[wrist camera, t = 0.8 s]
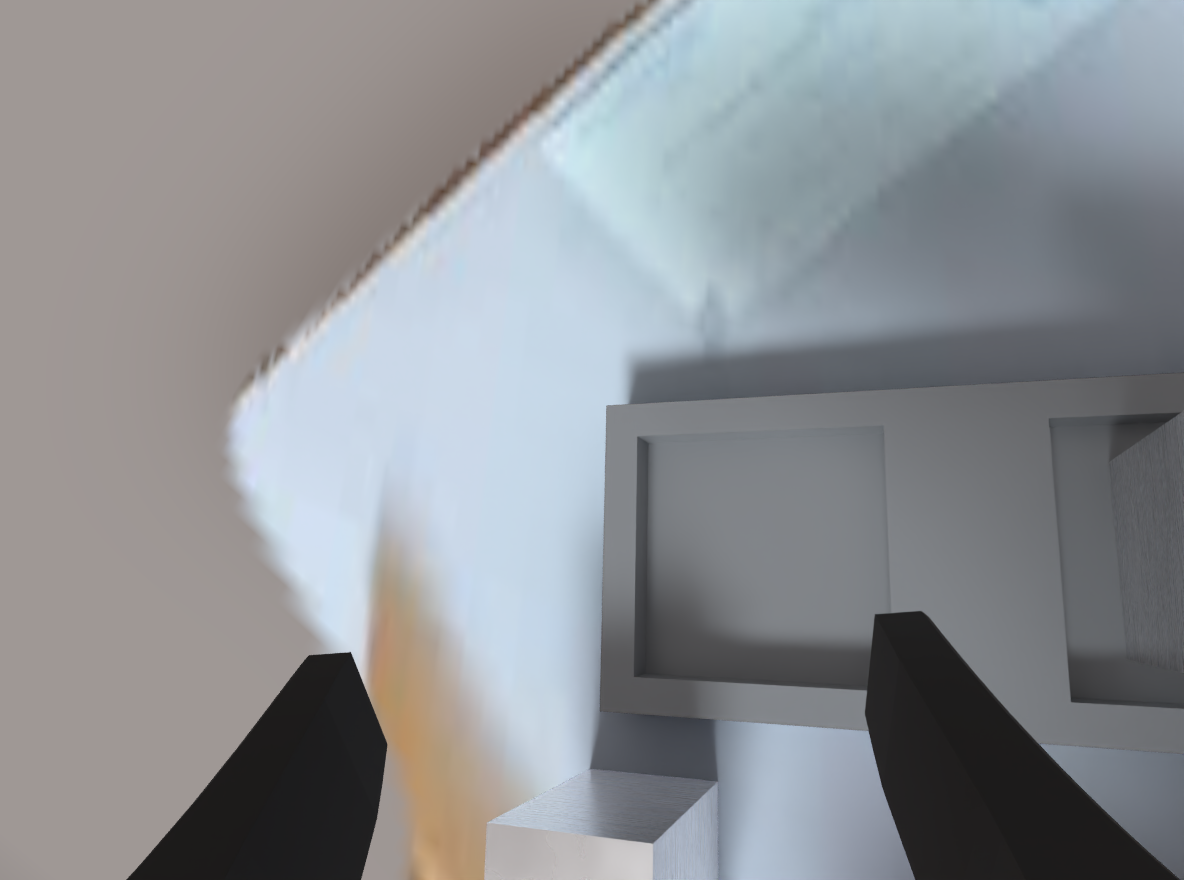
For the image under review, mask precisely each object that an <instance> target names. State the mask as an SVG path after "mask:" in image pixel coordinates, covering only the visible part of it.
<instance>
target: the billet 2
mask: <svg viewBox="0 0 1184 880" xmlns="http://www.w3.org/2000/svg"><path fill="white" fill-rule="evenodd" d="M1109 471H1110V482H1111V493H1112V504H1113V515H1114V526H1115V537H1116V548H1117V559H1118V570H1119V581H1120V592H1121V603H1122V614H1123V625H1124V636H1125V647H1126V658H1127V660H1130V661H1135V662H1139V663H1143V664H1147V665H1151V666H1155V667H1160V668H1164V669H1168V670H1172V671H1176V672H1180V673H1184V411H1183V412H1181V413H1180V414H1178V415H1177V416H1175V417H1174V418H1172V419H1171V420H1170V421H1168V422H1167V423H1165V424H1164V425H1162V426H1161V427H1159V428H1158V429H1156V430H1155V431H1154V432H1152V433H1151V434H1149V435H1148V436H1146V437H1145V438H1143V439H1142V440H1140V441H1139V442H1138V443H1136V444H1135V445H1133V446H1132V447H1130V448H1129V449H1127V450H1126V451H1124V452H1123V453H1121V454H1120V455H1119V456H1117V457H1116V458H1114V459H1113V460H1111V461H1110V462H1109Z"/></svg>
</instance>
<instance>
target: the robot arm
mask: <svg viewBox="0 0 1184 880" xmlns="http://www.w3.org/2000/svg"><path fill="white" fill-rule="evenodd" d="M865 717H866V721H867V725H868V730H869V734H870V738H871V743H872V747H873V751H874V755H875V759H876V763H877V767H878V771H879V775H880V779H881V783H882V787H883V790H884V793H885V796H886V799H887V802H888V805H889V808H890V810H891V813H892V816H893V819H894V821H895V824H896V827H897V830H898V833H899V835H900V838H901V841H902V844H903V847H904V849H905V852H906V855H907V858H908V860H909V863H910V866H911V869H912V871H913V874H914V877H915V880H1180V879H1179V878H1178V877H1177V876H1175V875H1174V874H1173V873H1172V872H1171V871H1170V870H1169V869H1167V868H1166V867H1165V866H1164V865H1163V864H1162V863H1161V862H1159V861H1158V860H1157V859H1156V858H1155V857H1154V856H1153V855H1151V854H1150V853H1149V852H1148V851H1147V850H1146V849H1145V848H1144V847H1143V846H1142V845H1141V844H1139V843H1138V842H1137V841H1136V840H1135V839H1134V838H1133V837H1132V836H1131V835H1130V834H1129V833H1128V832H1126V831H1125V830H1124V829H1123V828H1122V827H1121V826H1120V825H1119V824H1118V823H1117V822H1116V821H1115V820H1114V819H1113V818H1112V817H1111V816H1109V815H1108V814H1107V813H1106V812H1105V811H1104V810H1103V809H1102V808H1101V807H1100V806H1099V805H1098V804H1097V803H1096V802H1095V801H1094V800H1093V799H1092V798H1091V797H1090V796H1089V795H1088V794H1087V793H1086V792H1085V791H1084V790H1083V789H1082V788H1081V787H1080V786H1079V785H1078V784H1077V783H1076V782H1075V781H1074V780H1073V779H1072V778H1071V777H1070V776H1069V775H1068V774H1067V773H1066V772H1065V771H1064V770H1063V769H1062V768H1061V767H1060V766H1059V765H1058V764H1057V763H1056V762H1055V761H1054V760H1053V759H1052V758H1051V757H1050V756H1049V754H1048V753H1047V752H1046V751H1045V750H1044V749H1043V748H1042V747H1041V746H1040V745H1039V744H1038V743H1037V742H1036V741H1035V739H1034V738H1033V737H1032V736H1031V735H1030V734H1029V733H1028V732H1027V731H1026V730H1025V729H1024V728H1023V727H1022V726H1021V724H1020V723H1019V722H1018V721H1017V720H1016V719H1015V718H1014V717H1013V716H1012V715H1011V714H1010V713H1009V711H1008V710H1007V709H1006V708H1005V707H1004V706H1003V705H1002V704H1001V702H1000V701H999V700H998V699H997V698H996V697H995V696H994V695H993V693H992V692H991V691H990V690H989V689H988V688H987V686H986V685H985V684H984V683H983V682H982V681H981V679H980V678H979V677H978V676H977V675H976V674H975V673H974V671H973V670H972V669H971V668H970V667H969V665H968V664H967V663H966V662H965V661H964V659H963V658H962V657H961V656H960V655H959V653H958V652H957V651H956V650H955V649H954V647H953V646H952V645H951V644H950V642H949V641H948V640H947V639H946V638H945V636H944V635H943V634H942V633H941V631H940V630H939V629H938V628H937V626H936V625H935V624H934V623H933V621H932V620H931V619H930V618H929V616H927V615H926V614H925V613H924V612H922V611H913V612H899V613H885V614H875V617H874V627H873V637H872V647H871V657H870V667H869V676H868V686H867V696H866V706H865ZM386 752H387V742H386V739H385V737H384V734H383V732H382V729H381V727H380V724H379V722H378V719H377V717H376V714H375V712H374V709H373V707H372V704H371V702H370V699H369V697H368V694H367V692H366V689H365V687H364V684H363V682H362V679H361V677H360V674H359V672H358V669H357V667H356V664H355V662H354V659H353V657H352V654H351V652H349V653H335V654H321V655H309V656H308V657H307V658H306V659H305V660H304V662H303V663H302V664H301V665H300V667H299V668H298V669H297V671H296V672H295V673H294V674H293V676H292V677H291V678H290V680H289V681H288V682H287V684H286V685H285V686H284V688H283V689H282V690H281V691H280V693H279V694H278V695H277V697H276V698H275V699H274V701H273V702H272V703H271V705H270V706H269V707H268V709H267V710H266V711H265V713H264V714H263V715H262V717H261V718H260V719H259V721H258V722H257V723H256V724H255V726H254V727H253V728H252V730H251V731H250V732H249V733H248V735H247V736H246V738H245V739H244V740H243V741H242V743H241V744H240V745H239V747H238V748H237V749H236V750H235V752H234V753H233V754H232V755H231V757H230V758H229V759H228V760H227V762H226V763H225V764H224V765H223V767H222V768H221V769H220V770H219V772H218V773H217V774H216V775H215V777H214V778H213V779H212V780H211V782H210V783H209V784H208V785H207V787H206V788H205V789H204V791H203V792H202V793H201V794H200V795H199V797H198V798H197V799H196V800H195V802H194V803H193V804H192V805H191V806H190V808H189V809H188V810H187V811H186V812H185V813H184V814H183V816H182V817H181V818H180V819H179V820H178V821H177V823H176V824H175V825H174V826H173V827H172V828H171V830H170V831H169V832H168V833H167V834H166V835H165V837H164V838H163V839H162V840H161V841H160V842H159V844H158V845H157V846H156V847H155V848H154V849H153V850H152V852H151V853H150V854H149V855H148V856H147V857H146V859H145V860H144V861H143V862H142V863H141V864H140V865H139V866H138V868H137V869H136V870H135V871H134V872H133V873H132V874H131V875H130V876H129V878H128V879H127V880H361V878H362V873H363V870H364V866H365V862H366V859H367V855H368V851H369V847H370V843H371V839H372V836H373V832H374V828H375V824H376V820H377V814H378V808H379V802H380V795H381V789H382V782H383V775H384V767H385V759H386Z"/></svg>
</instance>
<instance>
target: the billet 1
mask: <svg viewBox="0 0 1184 880" xmlns="http://www.w3.org/2000/svg"><path fill="white" fill-rule="evenodd" d="M484 880H718V781H710V780H700V779H690V778H680V777H670V776H659V775H649V774H639V773H629V772H619V771H609V770H598V769H588V770H586V771H584V772H583V773H581V774H579V775H577V776H575V777H573V778H571V779H569V780H567V781H565V782H563V783H562V784H560V785H558V786H556V787H554V788H552V789H550V790H548V791H546V792H544V793H542V794H541V795H539V796H537V797H535V798H533V799H531V800H529V801H527V802H525V803H523V804H522V805H520V806H518V807H516V808H514V809H512V810H510V811H508V812H506V813H504V814H502V815H501V816H499V817H497V818H495V819H493V820H491V821H489V822H487V833H486V855H485V878H484Z"/></svg>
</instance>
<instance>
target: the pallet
mask: <svg viewBox="0 0 1184 880" xmlns="http://www.w3.org/2000/svg"><path fill="white" fill-rule="evenodd" d="M1183 411H1184V372H1183V373H1166V374H1148V375H1131V376H1113V377H1096V378H1079V379H1061V380H1044V381H1026V382H1009V383H991V384H974V385H956V386H939V387H922V388H904V389H887V390H869V391H852V392H834V393H817V394H799V395H782V396H765V397H747V398H730V399H712V400H695V401H677V402H660V403H642V404H625V405H608V406H606V453H605V499H604V545H603V591H602V637H601V683H600V711H604V712H617V713H631V714H645V715H658V716H672V717H686V718H699V719H713V720H727V721H740V722H754V723H767V724H781V725H795V726H808V727H822V728H836V729H849V730H863V731H869V730H868V725H867V721H866V717H865V706H866V696H867V686H868V676H869V667H870V657H871V647H872V637H873V627H874V617H875V614H885V613H899V612H913V611H922V612H924V613H925V614H926V615H927V616H929V618H930V619H931V620H932V621H933V623H934V624H935V625H936V626H937V628H938V629H939V630H940V631H941V633H942V634H943V635H944V636H945V638H946V639H947V640H948V641H949V642H950V644H951V645H952V646H953V647H954V649H955V650H956V651H957V652H958V653H959V655H960V656H961V657H962V658H963V659H964V661H965V662H966V663H967V664H968V665H969V667H970V668H971V669H972V670H973V671H974V673H975V674H976V675H977V676H978V677H979V678H980V679H981V681H982V682H983V683H984V684H985V685H986V686H987V688H988V689H989V690H990V691H991V692H992V693H993V695H994V696H995V697H996V698H997V699H998V700H999V701H1000V702H1001V704H1002V705H1003V706H1004V707H1005V708H1006V709H1007V710H1008V711H1009V713H1010V714H1011V715H1012V716H1013V717H1014V718H1015V719H1016V720H1017V721H1018V722H1019V723H1020V724H1021V726H1022V727H1023V728H1024V729H1025V730H1026V731H1027V732H1028V733H1029V734H1030V735H1031V736H1032V737H1033V738H1034V739H1035V741H1036V742H1037V743H1040V744H1054V745H1068V746H1081V747H1095V748H1109V749H1122V750H1136V751H1150V752H1163V753H1177V754H1184V673H1180V672H1176V671H1172V670H1168V669H1164V668H1160V667H1155V666H1151V665H1147V664H1143V663H1139V662H1135V661H1130V660H1127V658H1126V647H1125V636H1124V625H1123V614H1122V603H1121V592H1120V581H1119V570H1118V559H1117V548H1116V537H1115V526H1114V515H1113V504H1112V493H1111V482H1110V471H1109V462H1110V461H1111V460H1113V459H1114V458H1116V457H1117V456H1119V455H1120V454H1121V453H1123V452H1124V451H1126V450H1127V449H1129V448H1130V447H1132V446H1133V445H1135V444H1136V443H1138V442H1139V441H1140V440H1142V439H1143V438H1145V437H1146V436H1148V435H1149V434H1151V433H1152V432H1154V431H1155V430H1156V429H1158V428H1159V427H1161V426H1162V425H1164V424H1165V423H1167V422H1168V421H1170V420H1171V419H1172V418H1174V417H1175V416H1177V415H1178V414H1180V413H1181V412H1183Z"/></svg>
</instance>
